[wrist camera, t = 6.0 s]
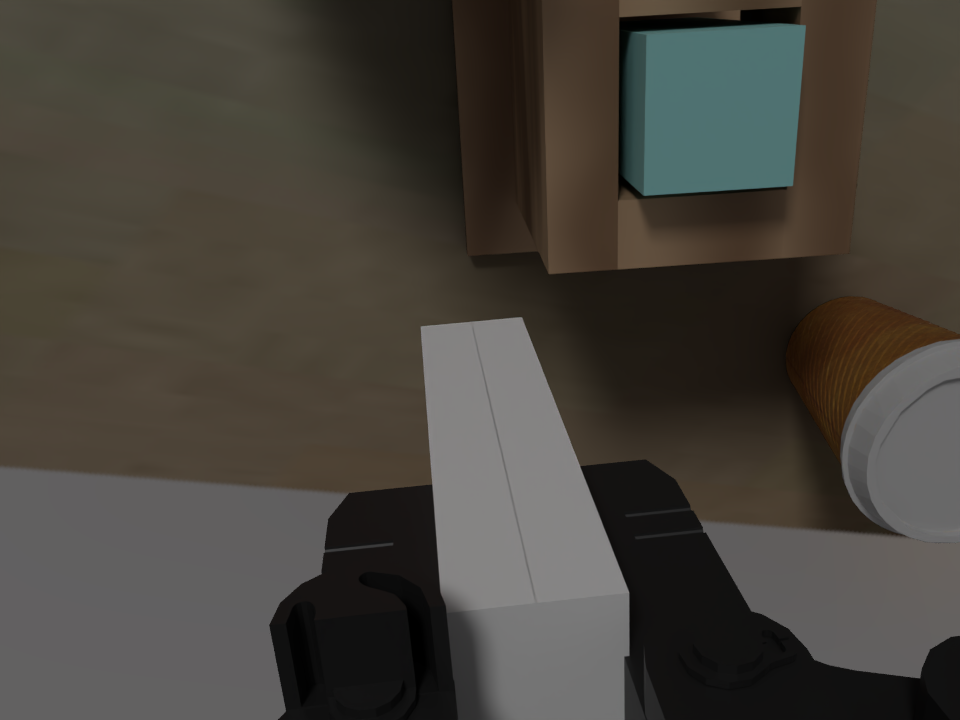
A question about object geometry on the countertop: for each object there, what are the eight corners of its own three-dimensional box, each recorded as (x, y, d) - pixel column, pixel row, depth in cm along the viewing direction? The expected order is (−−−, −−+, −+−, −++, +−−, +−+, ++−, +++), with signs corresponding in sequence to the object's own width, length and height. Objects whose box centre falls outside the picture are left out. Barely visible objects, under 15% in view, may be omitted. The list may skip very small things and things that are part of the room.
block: (583, 141, 40) (643, 195, 29) (582, 23, 39) (646, 34, 27) (691, 134, 41) (792, 185, 30) (696, 17, 39) (805, 25, 28)
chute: (466, 250, 45) (482, 343, 33) (445, -106, 39) (455, -151, 27) (779, 229, 45) (907, 313, 33) (806, -125, 39) (975, -178, 27)
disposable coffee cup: (962, 301, 48) (1126, 394, 36) (871, 450, 51) (997, 577, 40) (809, 240, 46) (933, 318, 35) (725, 399, 49) (814, 517, 38)
